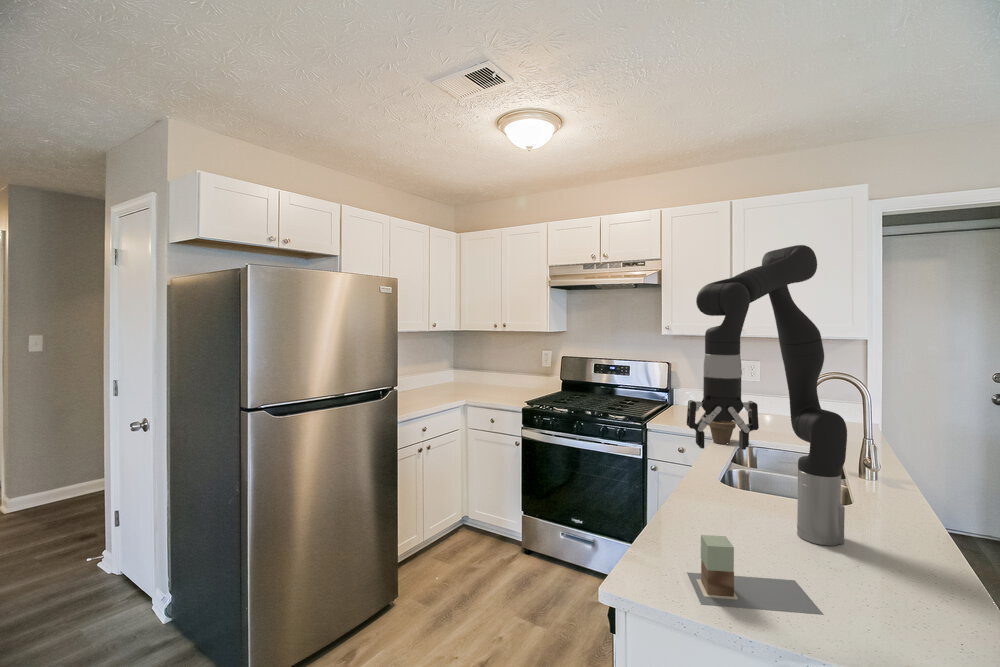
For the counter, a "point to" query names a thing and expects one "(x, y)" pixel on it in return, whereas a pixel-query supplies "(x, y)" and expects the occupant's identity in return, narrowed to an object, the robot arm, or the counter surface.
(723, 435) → the flower pot
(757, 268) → the robot arm
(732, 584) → the walnut block
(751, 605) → the build mat
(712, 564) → the sage block
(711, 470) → the counter surface
